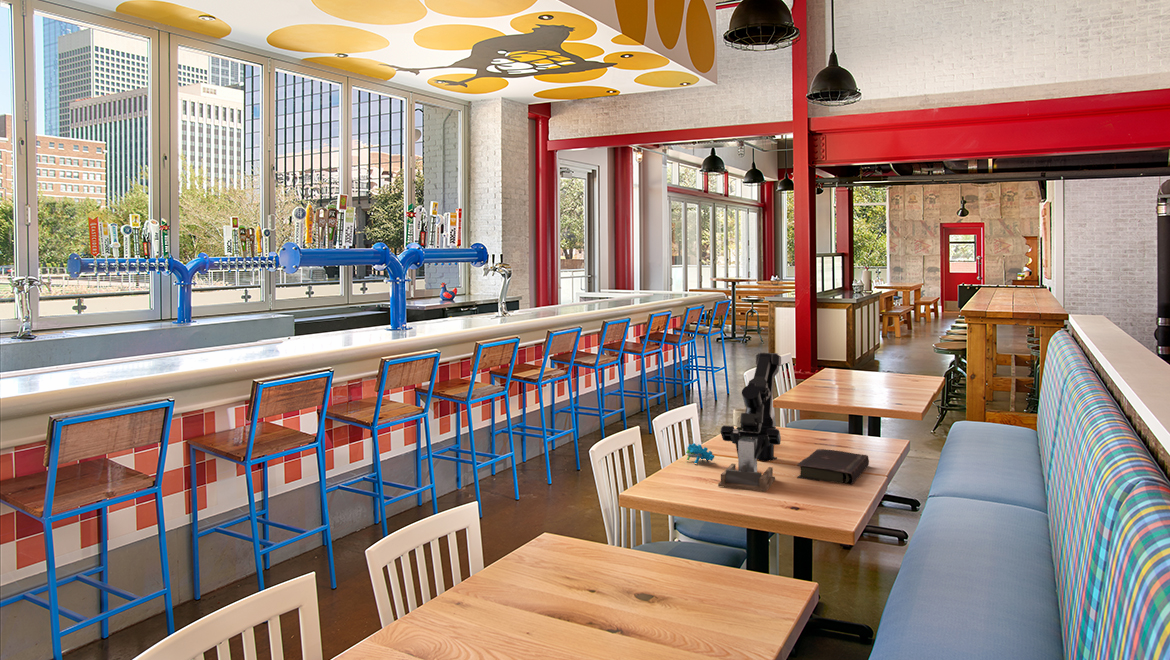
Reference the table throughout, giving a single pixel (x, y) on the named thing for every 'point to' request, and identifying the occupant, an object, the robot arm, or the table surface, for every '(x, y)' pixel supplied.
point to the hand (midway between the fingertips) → (746, 457)
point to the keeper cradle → (746, 478)
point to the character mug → (738, 418)
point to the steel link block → (747, 454)
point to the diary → (833, 466)
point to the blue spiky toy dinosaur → (699, 453)
